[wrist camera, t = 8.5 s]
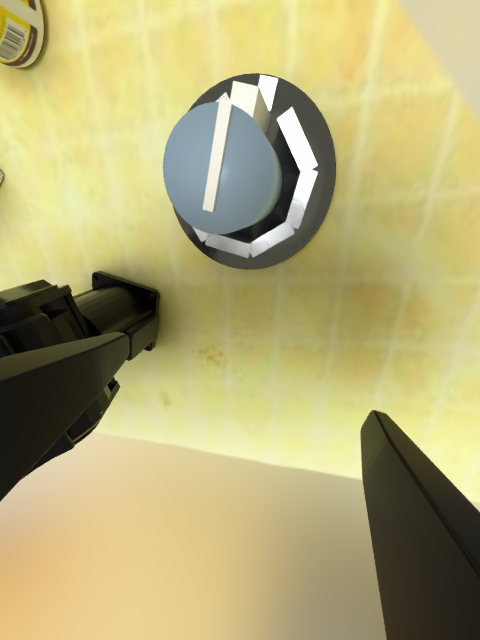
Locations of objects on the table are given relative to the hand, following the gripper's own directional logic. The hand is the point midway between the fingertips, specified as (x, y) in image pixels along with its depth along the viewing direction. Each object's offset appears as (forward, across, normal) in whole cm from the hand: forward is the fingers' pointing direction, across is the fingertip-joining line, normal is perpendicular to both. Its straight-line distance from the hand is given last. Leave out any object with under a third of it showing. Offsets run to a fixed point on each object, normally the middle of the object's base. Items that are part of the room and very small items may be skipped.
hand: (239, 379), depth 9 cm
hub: (+12, +4, -6) cm, 14 cm away
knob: (+11, +4, -6) cm, 13 cm away
